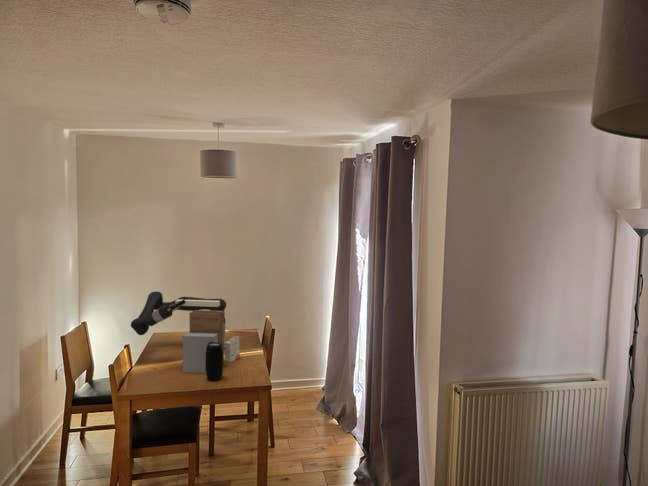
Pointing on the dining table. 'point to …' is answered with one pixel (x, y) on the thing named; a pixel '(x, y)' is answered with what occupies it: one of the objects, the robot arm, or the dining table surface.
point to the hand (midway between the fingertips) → (186, 300)
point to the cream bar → (200, 303)
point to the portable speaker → (214, 361)
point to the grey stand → (196, 351)
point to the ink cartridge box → (232, 349)
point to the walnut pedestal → (208, 323)
